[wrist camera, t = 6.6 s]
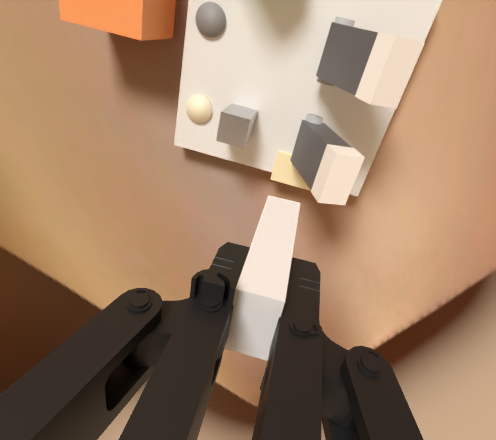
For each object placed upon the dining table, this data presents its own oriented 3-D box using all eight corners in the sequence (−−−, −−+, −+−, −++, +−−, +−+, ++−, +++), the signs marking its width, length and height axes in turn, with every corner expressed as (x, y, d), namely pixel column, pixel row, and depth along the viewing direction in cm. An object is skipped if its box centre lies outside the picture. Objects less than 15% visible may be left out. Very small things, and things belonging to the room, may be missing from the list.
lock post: (226, 129, 31) (216, 140, 28) (231, 103, 30) (220, 111, 27) (252, 136, 31) (244, 148, 28) (258, 110, 30) (250, 119, 27)
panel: (181, 144, 35) (172, 151, 33) (203, -60, 26) (193, -67, 24) (353, 193, 34) (355, 203, 32) (437, -5, 25) (446, -7, 23)
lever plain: (309, 79, 27) (367, 110, 21) (328, 14, 24) (399, 28, 18) (332, 83, 27) (394, 114, 21) (352, 20, 25) (427, 35, 19)
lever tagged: (286, 161, 30) (316, 207, 24) (300, 111, 28) (338, 148, 22) (307, 163, 31) (343, 209, 25) (323, 115, 29) (367, 152, 22)
